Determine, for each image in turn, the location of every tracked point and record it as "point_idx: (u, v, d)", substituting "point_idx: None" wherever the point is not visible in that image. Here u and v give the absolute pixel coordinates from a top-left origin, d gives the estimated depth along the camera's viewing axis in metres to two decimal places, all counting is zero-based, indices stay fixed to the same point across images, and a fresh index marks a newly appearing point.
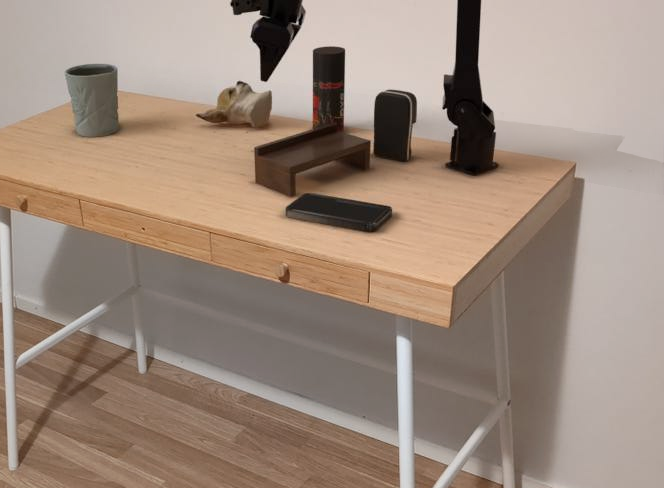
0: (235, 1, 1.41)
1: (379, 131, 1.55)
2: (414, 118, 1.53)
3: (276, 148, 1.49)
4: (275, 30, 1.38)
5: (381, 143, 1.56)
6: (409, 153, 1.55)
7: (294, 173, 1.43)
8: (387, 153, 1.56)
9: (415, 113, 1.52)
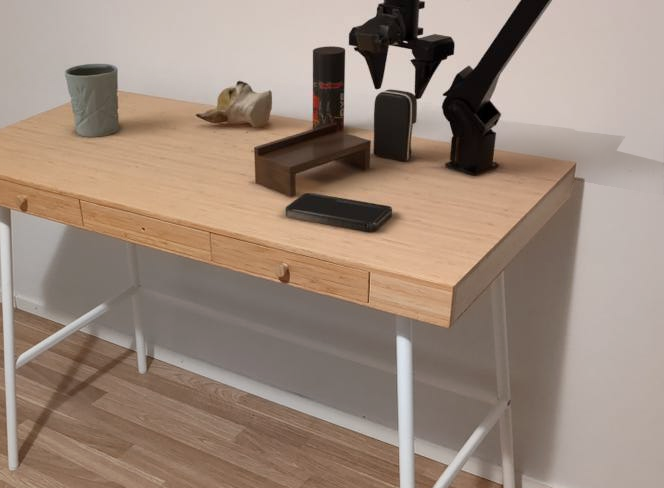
0: (389, 37, 1.40)
1: (379, 131, 1.55)
2: (414, 118, 1.53)
3: (276, 148, 1.49)
4: (446, 43, 1.41)
5: (381, 143, 1.56)
6: (409, 153, 1.55)
7: (294, 173, 1.43)
8: (387, 153, 1.56)
9: (415, 113, 1.52)
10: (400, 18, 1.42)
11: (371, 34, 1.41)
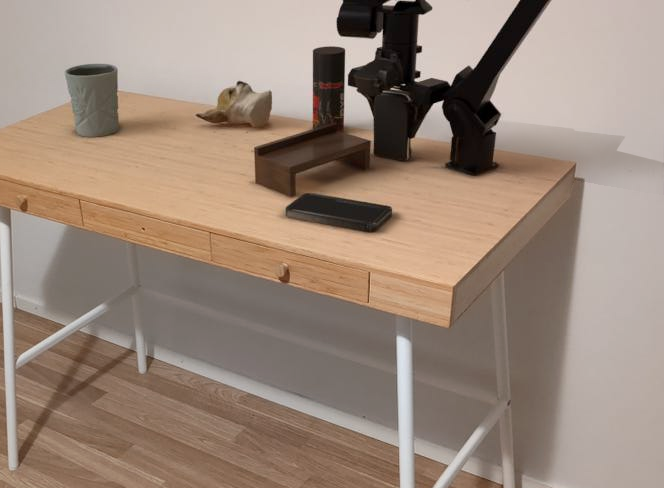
0: (387, 82, 1.44)
1: (379, 131, 1.56)
2: None
3: (276, 148, 1.49)
4: (443, 88, 1.45)
5: (381, 143, 1.56)
6: (409, 153, 1.55)
7: (294, 173, 1.43)
8: (387, 153, 1.56)
9: None
10: (398, 63, 1.46)
11: (370, 78, 1.45)
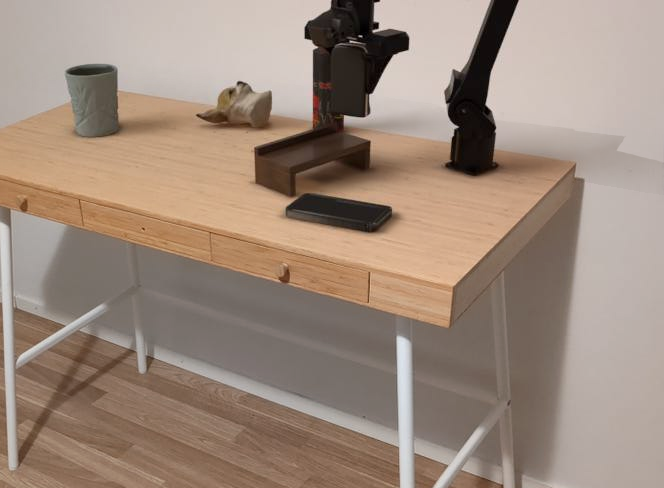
0: (341, 31, 1.36)
1: (336, 86, 1.48)
2: None
3: (276, 148, 1.49)
4: (400, 38, 1.37)
5: (339, 99, 1.48)
6: (368, 110, 1.47)
7: (294, 173, 1.43)
8: (345, 110, 1.49)
9: None
10: (354, 11, 1.38)
11: (323, 28, 1.37)
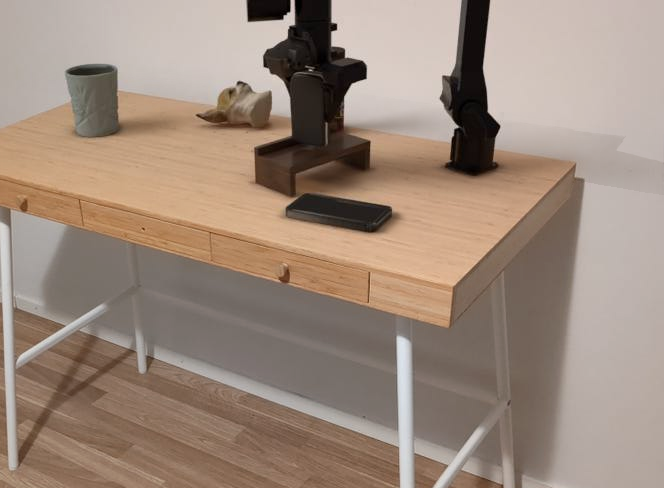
0: (297, 62, 1.34)
1: (296, 115, 1.46)
2: None
3: (276, 148, 1.49)
4: (357, 67, 1.36)
5: (299, 128, 1.47)
6: (328, 138, 1.46)
7: (294, 173, 1.43)
8: (305, 138, 1.47)
9: None
10: (311, 41, 1.37)
11: (279, 58, 1.36)
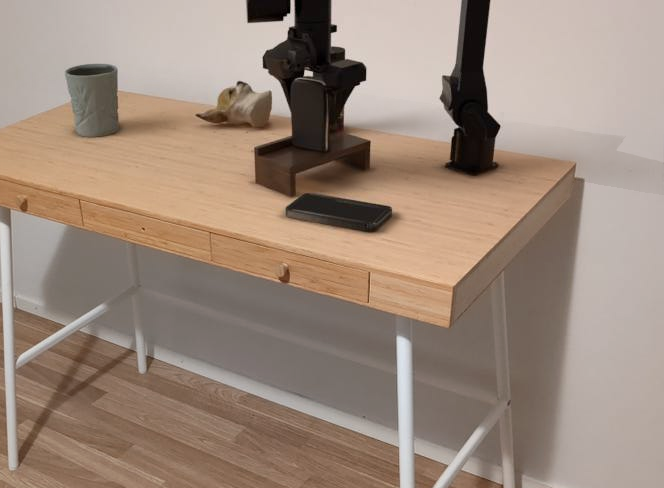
0: (296, 63, 1.35)
1: (296, 120, 1.47)
2: None
3: (276, 148, 1.49)
4: (357, 69, 1.36)
5: (299, 133, 1.48)
6: (328, 143, 1.47)
7: (294, 173, 1.43)
8: (305, 144, 1.48)
9: None
10: (310, 42, 1.37)
11: (279, 59, 1.36)
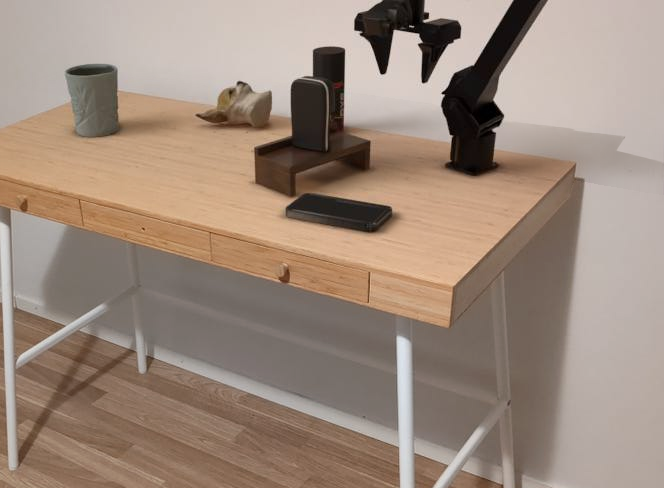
0: (397, 21, 1.41)
1: (296, 120, 1.47)
2: (332, 106, 1.44)
3: (276, 148, 1.49)
4: (453, 26, 1.42)
5: (299, 133, 1.48)
6: (328, 143, 1.47)
7: (294, 173, 1.43)
8: (305, 144, 1.48)
9: (333, 100, 1.44)
10: (408, 2, 1.43)
11: (379, 18, 1.42)
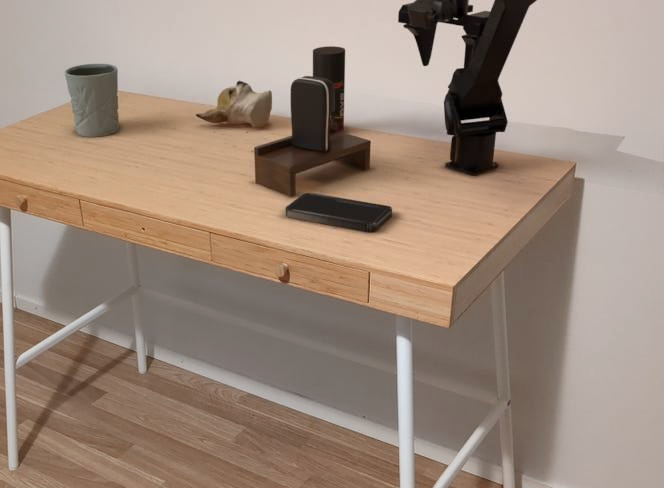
0: (442, 13, 1.44)
1: (296, 120, 1.47)
2: (332, 106, 1.44)
3: (276, 148, 1.49)
4: None
5: (299, 133, 1.48)
6: (328, 143, 1.47)
7: (294, 173, 1.43)
8: (305, 144, 1.48)
9: (333, 100, 1.44)
10: None
11: (424, 10, 1.45)
